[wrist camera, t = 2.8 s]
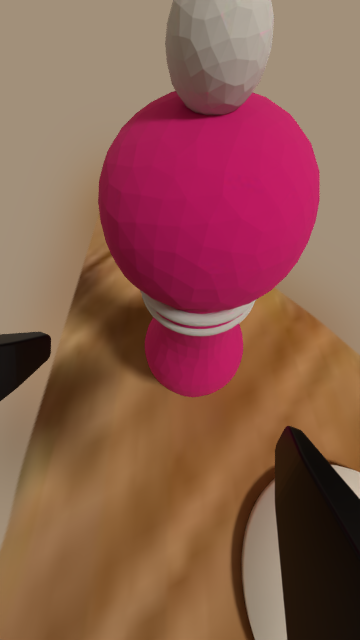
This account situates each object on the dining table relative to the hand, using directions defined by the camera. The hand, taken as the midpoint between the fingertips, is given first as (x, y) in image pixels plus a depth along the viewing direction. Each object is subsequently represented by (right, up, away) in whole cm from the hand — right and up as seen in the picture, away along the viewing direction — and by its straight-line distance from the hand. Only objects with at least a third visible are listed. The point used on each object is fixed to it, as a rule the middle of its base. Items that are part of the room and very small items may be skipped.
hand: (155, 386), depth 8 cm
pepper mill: (+2, -2, +13) cm, 13 cm away
